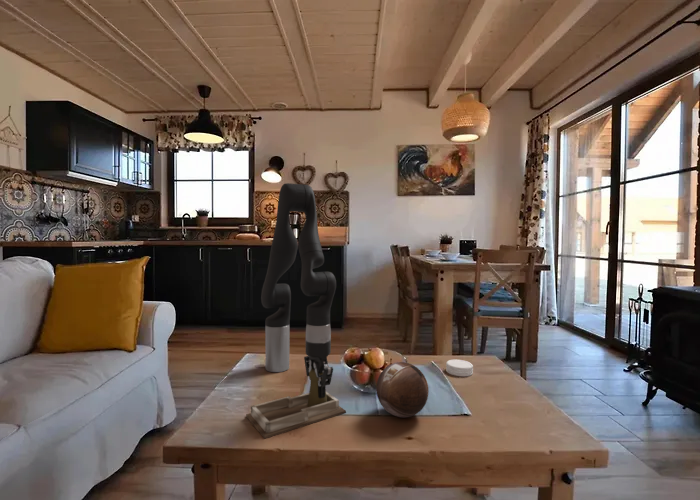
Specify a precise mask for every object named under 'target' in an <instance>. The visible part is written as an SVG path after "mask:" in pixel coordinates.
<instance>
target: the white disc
mask: <svg viewBox="0 0 700 500" xmlns="http://www.w3.org/2000/svg"><path fill="white" fill-rule="evenodd" d="M445 364H446V365H445V368H446V369H445V370H446V372H447V373H448V374H449V375H452V376H455V377H470V376H472V375H473V373H474V365H473V364H472V363H471V362H469V361H467V360H463V359H449V360H447V361H446V363H445Z"/></svg>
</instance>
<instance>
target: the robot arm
mask: <svg viewBox="0 0 700 500" xmlns="http://www.w3.org/2000/svg"><path fill="white" fill-rule="evenodd" d="M277 201H278V202H277V212H276V219H275V227H274V232H273V237H272V242H271V247H270V251H269V260H268V265H267V270H266V273H265V274H266V275H265V278H264V282H263V284H262V288H261V294H260V295H261V297H260V300H261V305H262V307H263V308H265V309H278V310H276V312H274V313H273V314H271V315H268V316H267V317H266V318H265V322H264V323H265V324H264V325H265V361H264V363H265V369H264V370H265V371H267V372H270V373H281V372H285V371H287V370H289V369H290V320H291V302H292V292H291V287H290V285H289V284H288V283H278V281H279V280H280V278H281V277H282V276H284V274H285V273H286V272H287V271H288V270H289V269H290V268H291V267H292V265H293V264H294V262H295V261H296V259H297V258H296V257H297V252H299V256H300V257H299V258H300V259H301V260H300V262H301V274H300V275H301V277H300V289H301V291H302V293H303V294H304V295H305V296H306V297H314V296H315V297H319V298H318V300H317V301H315V302H312V303H310V304H308V305H307V306H306V324H305V325H306V326H305V354H306V356H304V357H303V358H304V359H303V360H304V367H305V374H306V376H307V377H308V379H309V380H310V378H309V372H310V371H311V370H312V369H314V370H315V374H316V378H318V397H319V398H324V397H325V394H326V392H327V389H326V388H327V387H326V386H329V385H331V382H332V379H333V378H332V377H333V372H334V367H333V366H329V364H328V363H329V362H328V356H330V354H331V349H332V348H331V346H332V344H331V343H332V341H331V340H332V336H331V335H332V329H331V307H332V304H333V300H334V296H335V294H336V290H337V280H336V276H335V275H334V273H333V272H331V271H313V270H314V269H317V268H319V267H322V266H323V265H324V263H325V256H324V253H323V248H322V244H321V240H320V235H319V227H318V216H317V215H318V212H317V204H316V197H315V192H314V189H313V188H312V187H311V185H308V184H303V183H302V184H299V183H288V182H287V183H286V182H285V183H284V184H282V185H281V188H280V190H279V194H278V200H277ZM291 212H293V213H294V212H295V213H304V216H305V222H304V225H303V227H302V228H301V231H300V233H299V236H298V240H297V237H296V234H295V233H294V231H293V229H292V227H291V225H290V220H289V218H290V213H291ZM319 373H323V375H319ZM321 378H322V381H321Z"/></svg>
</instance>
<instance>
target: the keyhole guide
mask: <svg viewBox="0 0 700 500" xmlns="http://www.w3.org/2000/svg"><path fill="white" fill-rule="evenodd" d="M326 396H327V402H325V403H322V404H318V405H315V406H311V407H308V399H309V392H306V393H303V394H299V395H296V396H292V397H291V396H290V395H287V396H285V397H281V398H276V399H273V400H269V401H266V402H262V403H258V404H254V405H251V406H250V413H246V418H247V419H248V420H249V422H250V423H251V424H252V426H253V427H254V428H255V429H256V430H257V431H258V433H259V434H260V436H262V438H263V439H264V440H265V439H268V438H271V437H275V436H277V435H280V434H284V433H287V432H290V431H293V430H296V429H300V428H302V427H305V426H308V425H311V424H316V423H318V422H321V421H324V420H327V419H330V418H333V417H336V416H340V415H343V414H346V413H347V410H346V409H345V408H343V407H342V406H340V400H339V399H338V398H336V397H335V396H334V395H332V394H330V393H329V392H328V391H326Z"/></svg>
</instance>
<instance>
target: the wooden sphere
mask: <svg viewBox="0 0 700 500" xmlns="http://www.w3.org/2000/svg"><path fill="white" fill-rule="evenodd" d="M376 396H377V399H378V402H379V403H380V405H381V406H382V408H383V409H384V410H385V411H386V412H387V413H388V414H390V415H392V416H395V417H398V418H411V417H412V416H416V415H417V414H418V413H420V412H421V411H422V410H423V409H424V407H425V405H426V404H427V403H428V402H427V401H428V399H429V384H428V380H427V378H426V376H425V374H424V373H423V372H422V370H420V369H419V368H418V367H417V366H416V365H413V364H411V363H409V362H406V361H405V362H404V361H399V362H398V361H397V362H394V363H391V364H389V365H387V366H386V367H385V368H384V369H383V370H381V372H380V374H379V376H378V378H377V381H376Z"/></svg>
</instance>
